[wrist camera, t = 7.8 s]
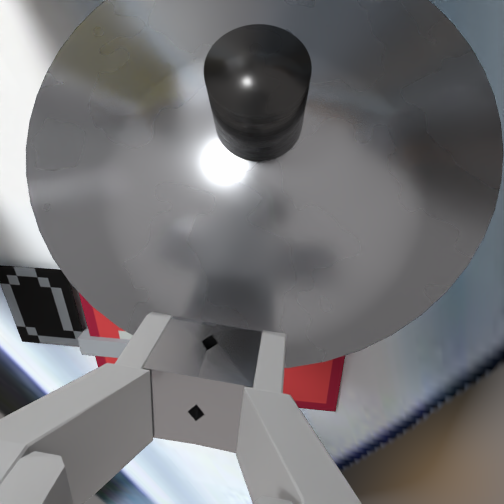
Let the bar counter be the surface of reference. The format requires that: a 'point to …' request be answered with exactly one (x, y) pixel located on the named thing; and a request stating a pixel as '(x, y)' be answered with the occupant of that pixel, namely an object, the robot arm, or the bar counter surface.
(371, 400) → the bar counter surface
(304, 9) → the lid
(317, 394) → the red board with handle
